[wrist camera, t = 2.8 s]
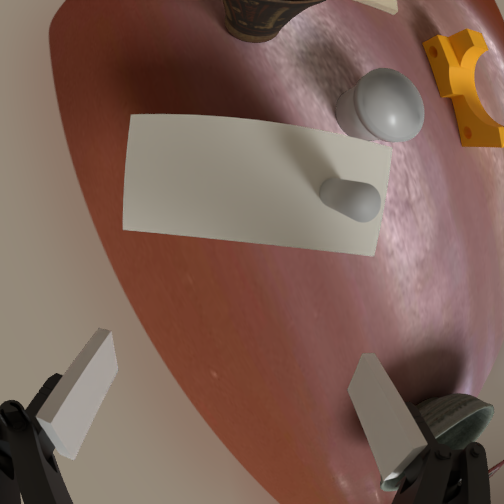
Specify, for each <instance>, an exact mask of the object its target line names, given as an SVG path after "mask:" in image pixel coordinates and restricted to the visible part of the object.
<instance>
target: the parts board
mask: <svg viewBox="0 0 504 504" xmlns="http://www.w3.org/2000/svg"><path fill="white" fill-rule="evenodd" d="M354 1H357V2H360V3H363V4H366V5H369V6H372V7H375V8H377V9H380V10H383V11H385V12H388V13H390V14H393V15H395V14H396V13H397V12H398V7H397V0H354Z"/></svg>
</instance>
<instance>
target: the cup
mask: <svg viewBox="0 0 504 504" xmlns="http://www.w3.org/2000/svg"><path fill="white" fill-rule="evenodd" d="M222 1H223V4H224V7H225V13H226V17H225V25H226V28H227V30H228V31H229V32H230V33H231V34H232V35H233V36H234V37H236V38H237V39H240V40H242V41H246V42H252V43H261V42H266V41H269V40H271V39H273V38H274V37H275V36H276V35H277V34H278V33H279V31H280V30H281V28H283V26H284V25H285V24H287V23H288V22H289V21H290V20H291V19H292V18H293V17H295V16H296V15H297V14H299V13H300V12H302V11H303V10H305V9H307V8H308V7H310V6H313V5H316V4H319V3H321V2H323V1H326V0H222Z"/></svg>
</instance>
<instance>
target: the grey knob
mask: <svg viewBox="0 0 504 504" xmlns="http://www.w3.org/2000/svg"><path fill="white" fill-rule="evenodd" d="M336 118H337V121H338V123H339V125H340V127H341V129H342V130H343V131H344V132H345V133H346V134H347V135H348V136H350V137H354V138H358V139H362V140H366V141H375V140H383V141H386V142H404V141H408V140H410V139H412V138H413V137H415V136H416V135H417V134H418V133H419V131H420V129H421V128H422V125H423V121H424V106H423V101H422V99H421V96H420V94H419V92H418V90H417V88H416V87H415V86H414V84H413V83H412V82H411V81H410V80H409V79H408V78H407V77H406V76H404V75H403V74H401V73H400V72H398V71H395V70H392V69H388V68H378V69H374V70H372V71H370V72H369V73H367V74H366V75H364V76H363V77H362V78H361V79H360V80H359V81H358V82H357V84H356V86H354V87H352V88H351V89H349V90H348V91H346V92H345V93H343V94H342V95H341V96H340V98H339V99H338V101H337V104H336Z"/></svg>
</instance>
